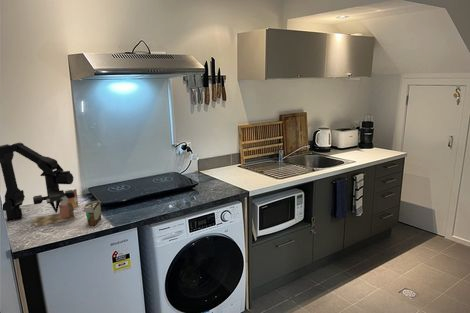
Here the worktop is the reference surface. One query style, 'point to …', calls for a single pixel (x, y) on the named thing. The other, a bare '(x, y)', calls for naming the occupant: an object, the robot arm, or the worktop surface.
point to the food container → (93, 212)
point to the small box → (70, 199)
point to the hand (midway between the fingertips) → (56, 212)
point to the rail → (54, 217)
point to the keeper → (64, 210)
